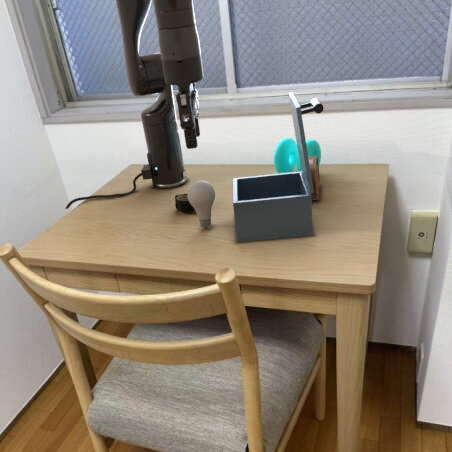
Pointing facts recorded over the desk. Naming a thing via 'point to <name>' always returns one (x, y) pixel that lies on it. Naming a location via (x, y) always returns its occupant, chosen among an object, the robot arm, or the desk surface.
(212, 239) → the desk surface
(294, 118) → the lid
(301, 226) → the compartment
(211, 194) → the lightbulb
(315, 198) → the tin
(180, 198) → the tape measure
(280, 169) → the turquoise spool
